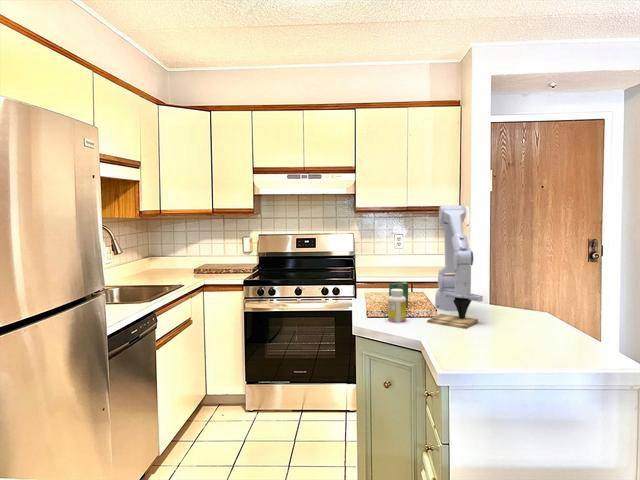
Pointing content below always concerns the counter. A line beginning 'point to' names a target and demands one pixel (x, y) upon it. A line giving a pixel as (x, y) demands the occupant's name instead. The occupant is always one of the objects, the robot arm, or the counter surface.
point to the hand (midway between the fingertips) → (462, 318)
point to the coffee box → (400, 286)
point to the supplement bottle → (397, 306)
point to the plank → (455, 319)
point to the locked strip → (448, 323)
